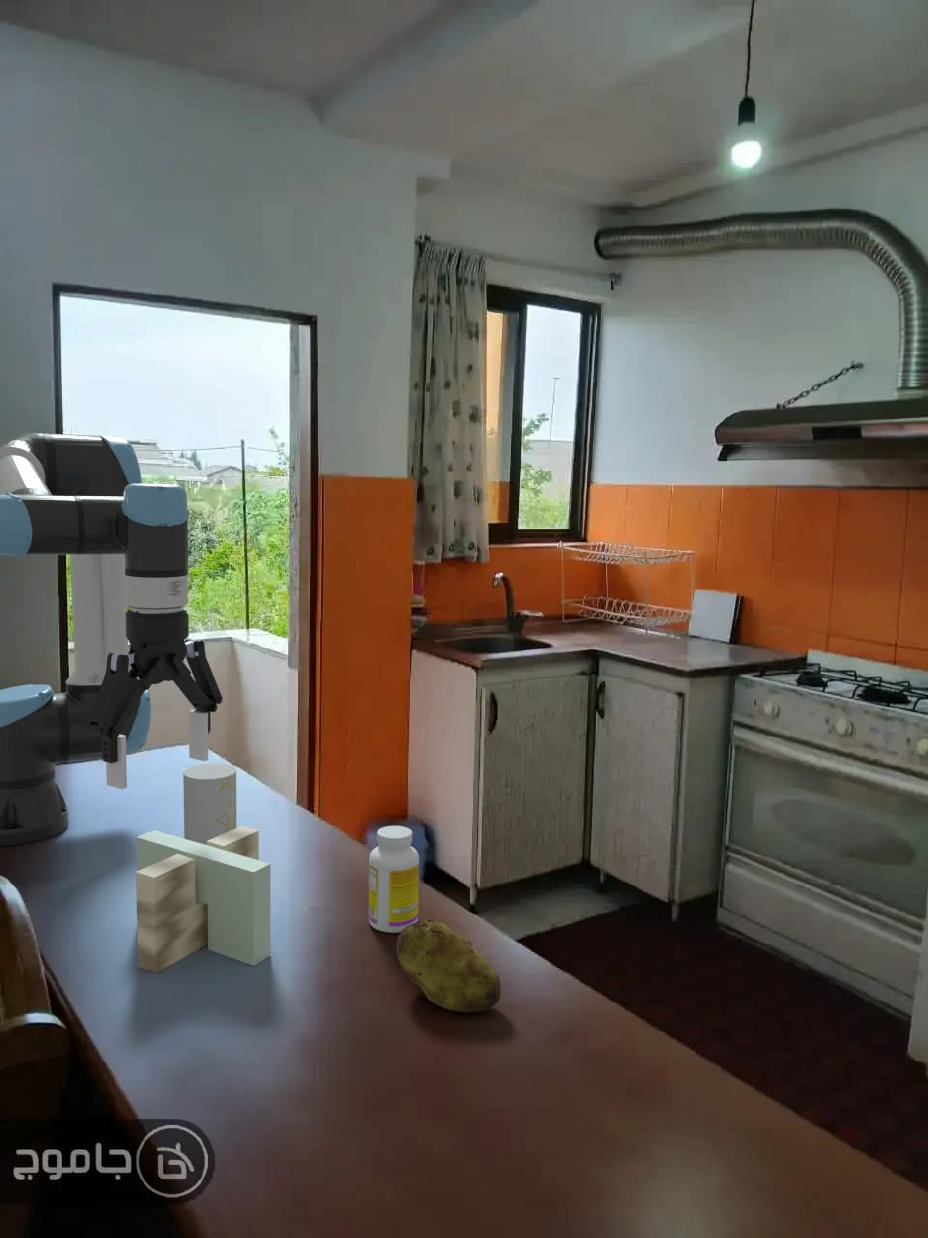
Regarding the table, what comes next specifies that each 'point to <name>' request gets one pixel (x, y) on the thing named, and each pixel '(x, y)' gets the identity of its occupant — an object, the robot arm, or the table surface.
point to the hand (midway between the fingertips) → (159, 772)
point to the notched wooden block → (178, 903)
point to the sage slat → (222, 893)
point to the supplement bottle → (393, 880)
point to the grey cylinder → (209, 801)
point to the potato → (447, 967)
